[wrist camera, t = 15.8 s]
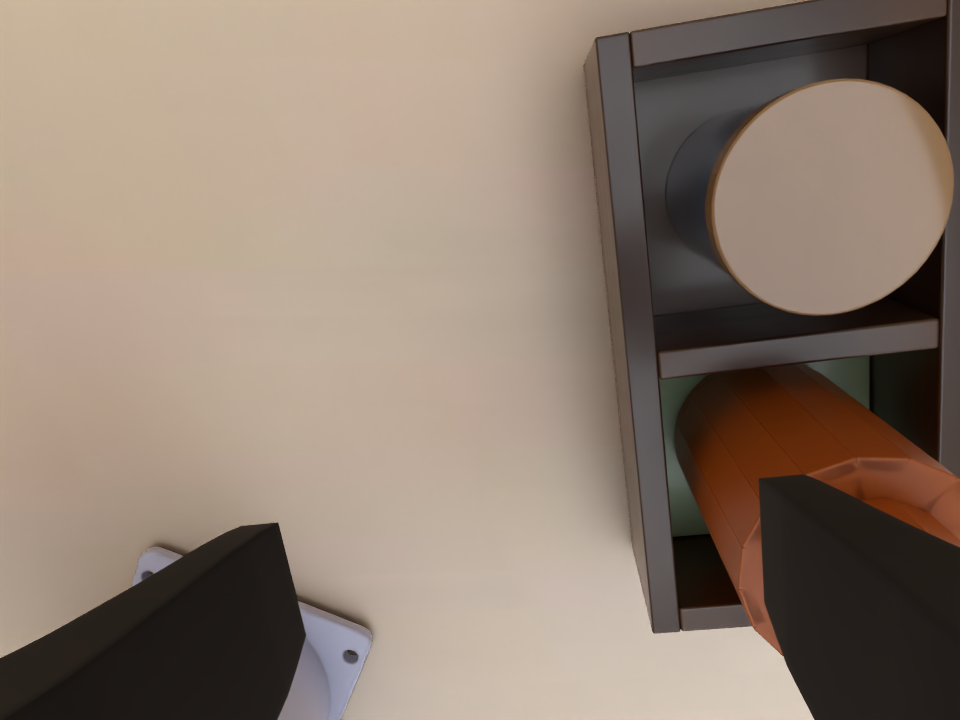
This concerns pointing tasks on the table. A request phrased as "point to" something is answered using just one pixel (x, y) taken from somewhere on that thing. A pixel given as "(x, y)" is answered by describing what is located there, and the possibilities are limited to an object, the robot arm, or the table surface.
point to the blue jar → (815, 194)
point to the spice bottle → (797, 463)
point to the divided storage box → (723, 303)
